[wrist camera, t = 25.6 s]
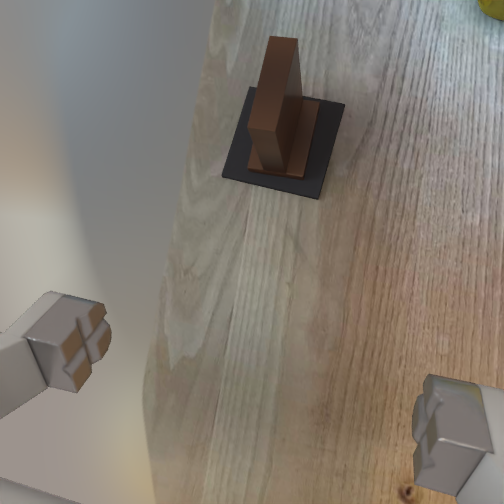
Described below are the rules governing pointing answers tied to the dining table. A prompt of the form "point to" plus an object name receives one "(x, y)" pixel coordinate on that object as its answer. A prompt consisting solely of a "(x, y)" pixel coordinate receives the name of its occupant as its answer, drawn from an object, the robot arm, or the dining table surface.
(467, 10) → the dining table surface
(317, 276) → the dining table surface
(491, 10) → the apple
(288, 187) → the mat
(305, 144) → the brown upright sign stand
